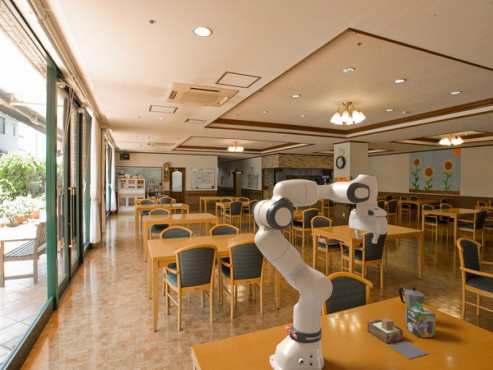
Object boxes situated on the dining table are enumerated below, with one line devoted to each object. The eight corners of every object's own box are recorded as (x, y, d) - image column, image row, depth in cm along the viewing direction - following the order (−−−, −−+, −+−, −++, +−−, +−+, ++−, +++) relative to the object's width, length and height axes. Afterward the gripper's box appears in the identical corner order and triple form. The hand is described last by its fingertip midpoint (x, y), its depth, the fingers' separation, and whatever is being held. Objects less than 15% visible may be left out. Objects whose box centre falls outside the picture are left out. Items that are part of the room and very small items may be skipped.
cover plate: (385, 334, 137) (385, 324, 137) (370, 325, 146) (370, 315, 146) (399, 331, 140) (399, 321, 140) (383, 322, 149) (384, 313, 149)
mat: (409, 359, 124) (409, 358, 124) (388, 345, 134) (388, 344, 134) (428, 354, 128) (428, 353, 128) (406, 341, 138) (406, 340, 138)
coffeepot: (431, 323, 156) (431, 289, 156) (420, 327, 151) (421, 292, 151) (403, 312, 169) (403, 281, 169) (393, 315, 165) (393, 283, 165)
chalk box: (436, 337, 142) (436, 306, 142) (417, 338, 141) (418, 307, 141) (423, 328, 151) (423, 299, 151) (406, 328, 151) (406, 299, 150)
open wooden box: (386, 343, 136) (386, 332, 136) (367, 331, 147) (367, 321, 147) (402, 339, 140) (402, 329, 139) (383, 328, 151) (383, 318, 151)
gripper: (345, 208, 141) (345, 237, 141) (378, 212, 122) (378, 246, 122) (356, 208, 143) (356, 236, 144) (390, 212, 124) (389, 245, 124)
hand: (366, 241), depth 133 cm, fingers open, 8 cm apart
